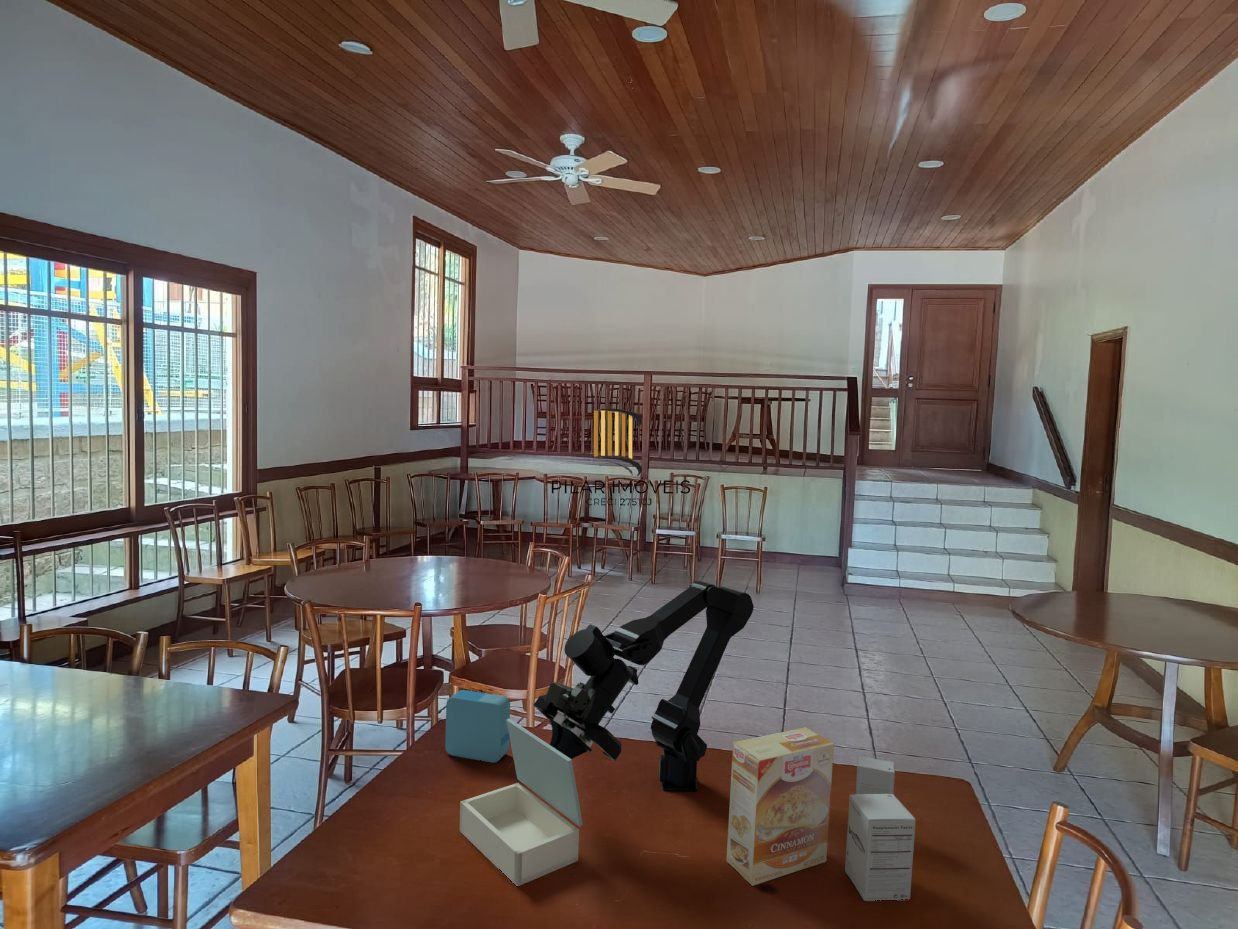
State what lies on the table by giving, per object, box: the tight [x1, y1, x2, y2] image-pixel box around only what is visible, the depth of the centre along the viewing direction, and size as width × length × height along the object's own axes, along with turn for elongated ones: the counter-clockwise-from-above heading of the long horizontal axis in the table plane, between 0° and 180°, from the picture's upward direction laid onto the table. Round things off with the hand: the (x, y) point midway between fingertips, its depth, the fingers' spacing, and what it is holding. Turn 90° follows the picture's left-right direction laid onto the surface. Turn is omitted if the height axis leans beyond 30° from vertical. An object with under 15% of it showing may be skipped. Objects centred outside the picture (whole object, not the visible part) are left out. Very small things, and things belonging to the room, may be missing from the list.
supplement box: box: [844, 793, 917, 902], centre depth 113 cm, size 7×7×13 cm
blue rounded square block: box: [445, 689, 511, 764], centre depth 151 cm, size 12×4×12 cm, turn 74°
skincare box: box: [855, 755, 896, 795], centre depth 128 cm, size 6×4×12 cm
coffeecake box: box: [726, 726, 835, 887], centre depth 118 cm, size 15×7×20 cm, turn 117°
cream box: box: [459, 782, 580, 887], centre depth 121 cm, size 11×18×5 cm, turn 39°
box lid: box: [506, 718, 584, 828], centre depth 123 cm, size 11×18×1 cm
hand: (545, 770), depth 123 cm, fingers closed, pressing on box lid
